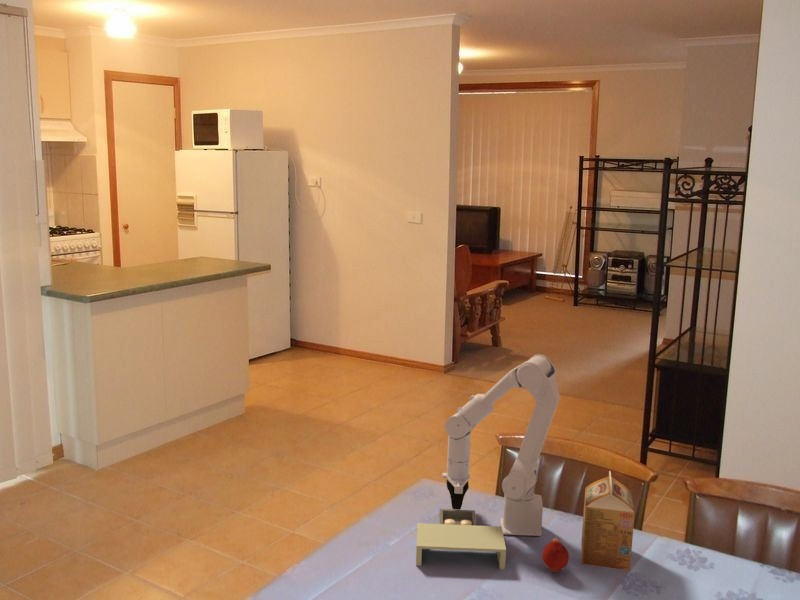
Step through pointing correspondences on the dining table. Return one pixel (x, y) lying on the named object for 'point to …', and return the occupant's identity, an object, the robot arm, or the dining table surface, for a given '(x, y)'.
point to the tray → (457, 517)
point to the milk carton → (607, 525)
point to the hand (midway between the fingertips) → (456, 508)
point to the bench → (461, 539)
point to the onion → (555, 556)
